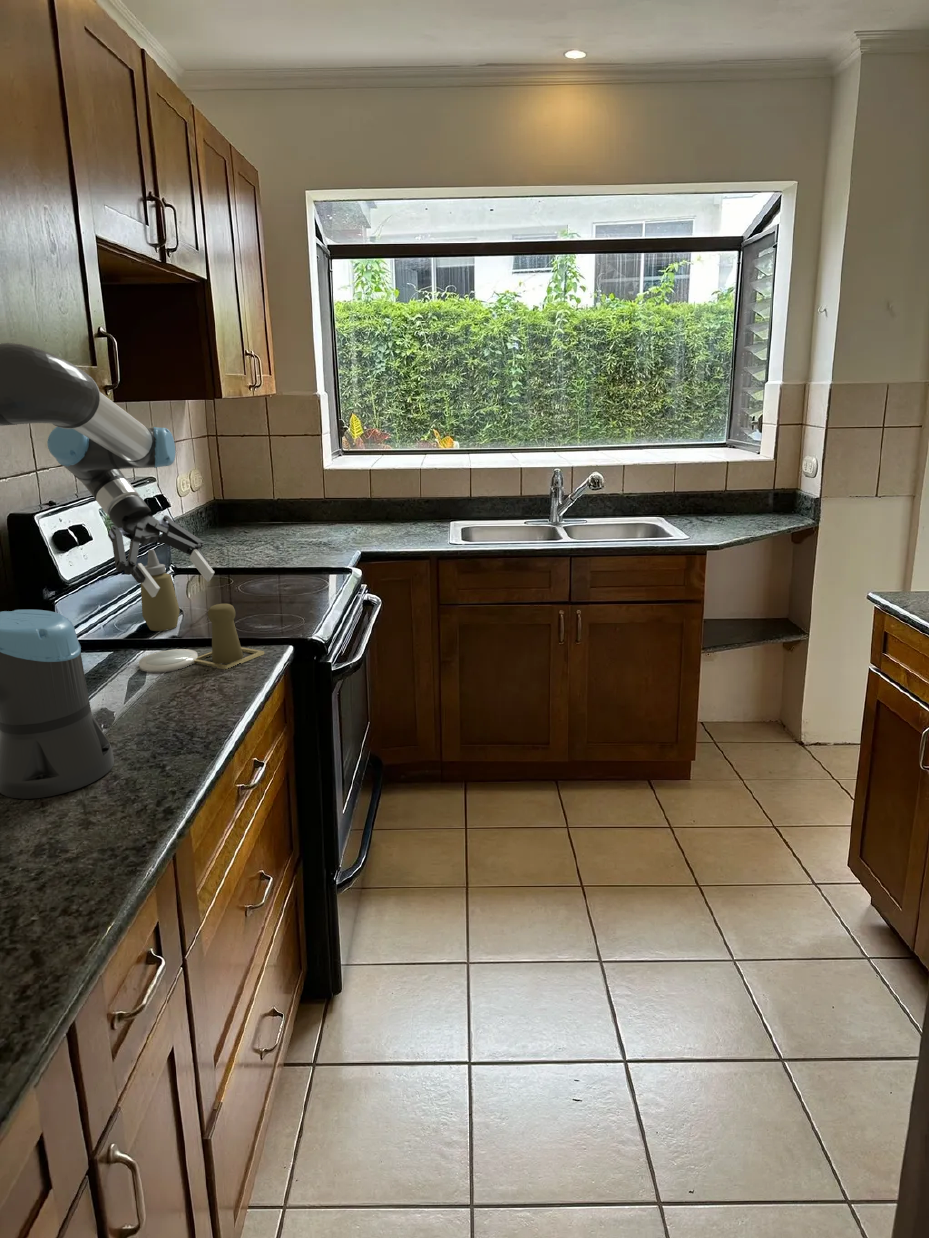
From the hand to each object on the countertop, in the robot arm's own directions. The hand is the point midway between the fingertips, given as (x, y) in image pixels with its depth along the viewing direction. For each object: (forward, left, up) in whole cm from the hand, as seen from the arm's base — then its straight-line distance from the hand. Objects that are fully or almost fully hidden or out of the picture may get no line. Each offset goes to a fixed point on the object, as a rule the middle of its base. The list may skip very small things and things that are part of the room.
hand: (184, 584), depth 167 cm
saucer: (-7, -1, -14) cm, 16 cm away
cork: (0, -10, -14) cm, 17 cm away
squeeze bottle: (+9, +21, -14) cm, 27 cm away
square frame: (0, -10, -14) cm, 17 cm away
